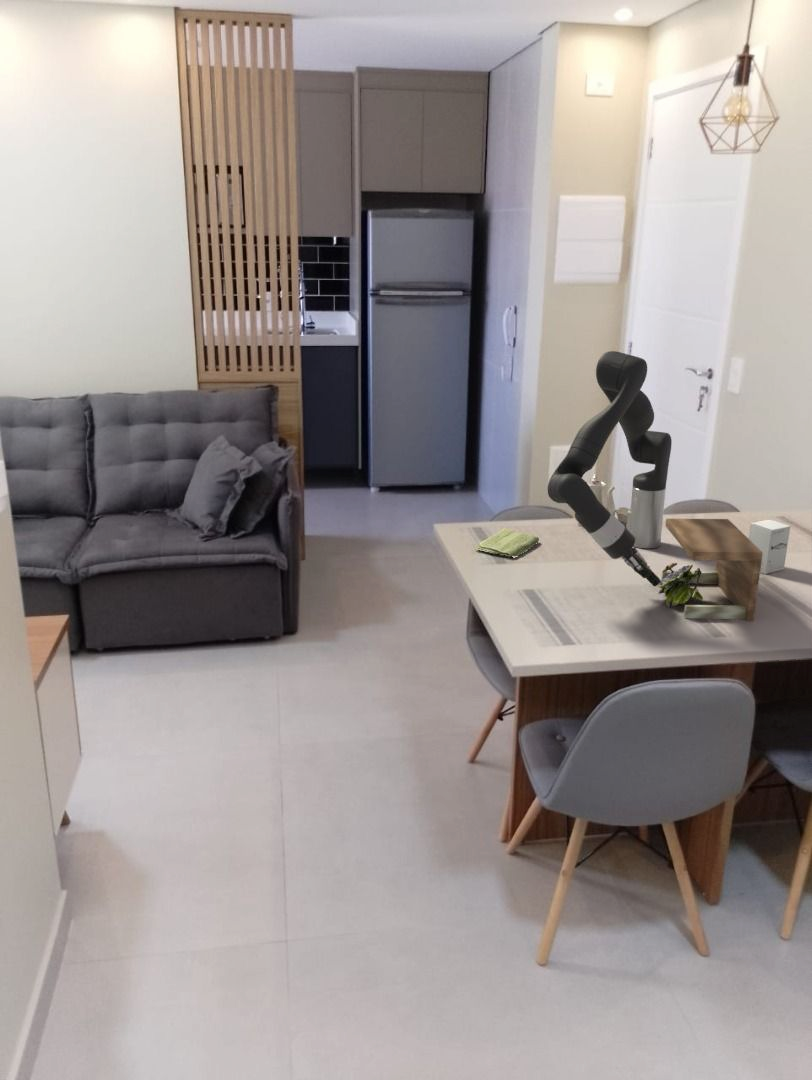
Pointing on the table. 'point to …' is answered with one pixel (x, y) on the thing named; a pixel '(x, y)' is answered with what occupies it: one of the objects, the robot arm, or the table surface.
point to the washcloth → (508, 543)
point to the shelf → (721, 565)
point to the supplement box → (770, 543)
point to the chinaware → (598, 491)
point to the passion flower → (673, 581)
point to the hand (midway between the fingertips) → (657, 583)
